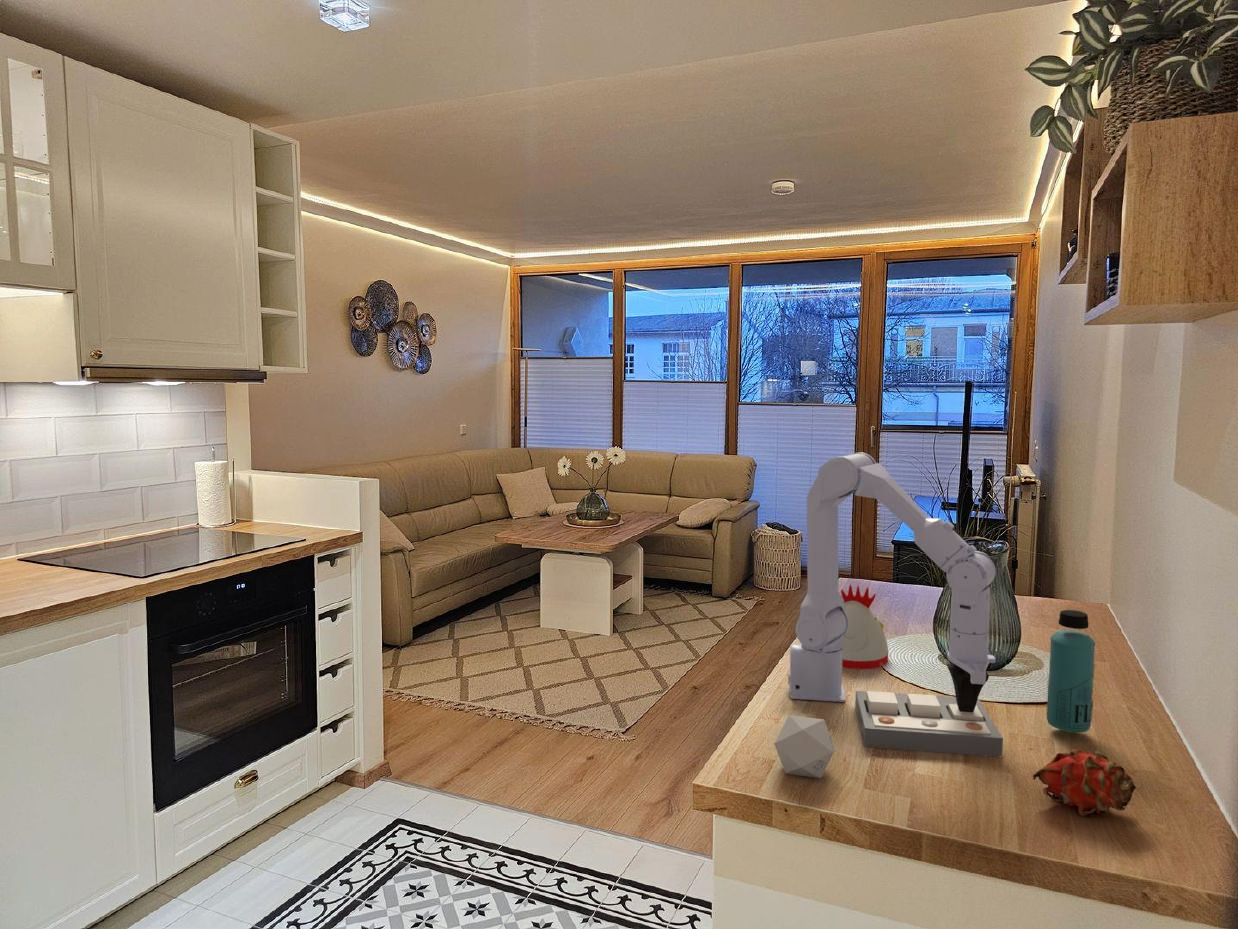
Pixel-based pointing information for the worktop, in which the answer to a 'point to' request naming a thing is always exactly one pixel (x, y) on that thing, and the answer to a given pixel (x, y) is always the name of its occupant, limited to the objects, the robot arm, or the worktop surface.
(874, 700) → the left button
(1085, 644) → the beverage bottle
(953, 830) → the worktop surface
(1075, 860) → the worktop surface
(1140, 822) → the worktop surface
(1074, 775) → the dragon fruit
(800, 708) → the worktop surface
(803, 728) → the die
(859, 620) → the kitchen timer
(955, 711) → the right button
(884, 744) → the button board
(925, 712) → the middle button
